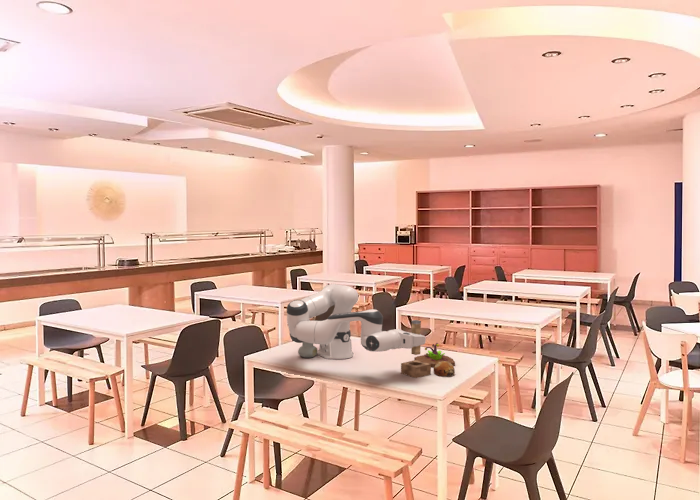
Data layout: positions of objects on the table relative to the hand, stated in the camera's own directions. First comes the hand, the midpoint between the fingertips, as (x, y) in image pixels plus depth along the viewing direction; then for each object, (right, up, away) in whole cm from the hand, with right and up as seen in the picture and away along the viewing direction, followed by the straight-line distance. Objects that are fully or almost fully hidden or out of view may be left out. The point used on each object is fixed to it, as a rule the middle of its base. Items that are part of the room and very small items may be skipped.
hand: (417, 335), depth 248 cm
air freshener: (-55, -17, +33) cm, 67 cm away
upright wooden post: (-1, -9, 0) cm, 9 cm away
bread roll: (+13, -19, 0) cm, 23 cm away
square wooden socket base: (-1, -19, 0) cm, 19 cm away
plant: (+12, -19, +21) cm, 31 cm away
